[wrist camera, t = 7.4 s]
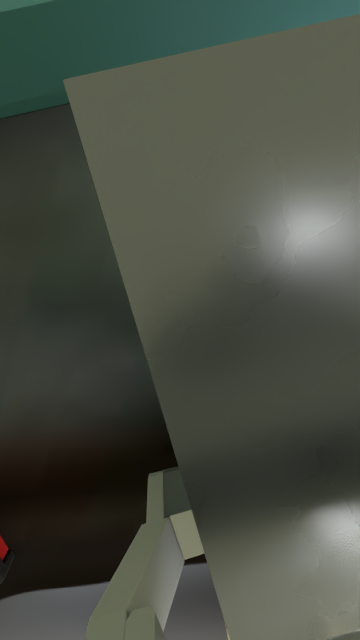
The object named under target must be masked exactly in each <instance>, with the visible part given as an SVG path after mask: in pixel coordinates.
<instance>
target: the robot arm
mask: <svg viewBox="0 0 360 640" xmlns="http://www.w3.org/2000/svg"><path fill="white" fill-rule="evenodd" d="M201 554H204V550H203V546H202V543H201V540H200V536H199V533H198V530H197V526H196V523H195V520H194V516H193V513H192V510H191V506H190V503H189V500H188V496H187V493H186V490H185V486H184V483H183V479H182V476H181V473H180V469H179V466H178V467H174V468H170V469H166V470H163V471H159V472H155V473H151V474H149V477H148V494H147V520H146V524H143V525H141V527H140V529H139V531H138V533H137V534H136V536H135V538H134V540H133V542H132V543H131V545H130V547H129V549H128V550H127V552H126V554H125V556H124V558H123V559H122V561H121V563H120V565H119V567H118V568H117V570H116V572H115V574H114V576H113V577H112V579H111V581H110V583H109V585H108V586H107V588H106V590H105V592H104V594H103V595H102V597H101V599H100V601H99V603H98V605H97V606H96V608H95V610H94V612H93V613H92V615H91V617H90V619H89V621H88V627H87V632H86V637H85V640H166V637H165V635H164V633H163V631H164V627H165V624H166V621H167V617H168V614H169V611H170V607H171V604H172V601H173V598H174V594H175V591H176V588H177V585H178V581H179V578H180V575H181V571H182V568H183V565H184V560H185V559H189V558H192V557H195V556H198V555H201ZM325 640H360V629H358V630H355V631H352V632H348V633H345V634H341V635H338V636H335V637H331V638H328V639H325Z"/></svg>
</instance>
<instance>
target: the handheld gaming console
mask: <svg viewBox="0 0 360 640" xmlns="http://www.w3.org/2000/svg"><path fill="white" fill-rule="evenodd" d="M13 559H14V553H13V552H12V551H11V550H8V547H7V546H6V544H5V542H4V541H3V539H2V538H1V536H0V584H1V583H2V582H3V581H4V578H5V576H6V574H7V572H8V570H9V568H10V566H11V563H12V561H13Z"/></svg>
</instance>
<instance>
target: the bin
mask: <svg viewBox="0 0 360 640" xmlns="http://www.w3.org/2000/svg"><path fill="white" fill-rule="evenodd" d="M356 14H360V0H0V119H1V118H5V117H9V116H14V115H18V114H23V113H27V112H32V111H36V110H40V109H45V108H49V107H54V106H58V105H63V104H67V103H70V102H69V99H68V96H67V92H66V89H65V86H64V82H63V79H68V78H72V77H77V76H81V75H86V74H90V73H95V72H99V71H104V70H108V69H113V68H117V67H122V66H126V65H131V64H135V63H140V62H144V61H149V60H153V59H158V58H162V57H167V56H171V55H176V54H180V53H185V52H189V51H194V50H198V49H203V48H207V47H212V46H216V45H221V44H226V43H230V42H235V41H239V40H244V39H248V38H253V37H257V36H262V35H266V34H271V33H275V32H280V31H284V30H289V29H293V28H298V27H302V26H307V25H311V24H316V23H320V22H325V21H329V20H334V19H338V18H343V17H347V16H352V15H356Z"/></svg>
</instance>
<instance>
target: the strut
mask: <svg viewBox="0 0 360 640" xmlns="http://www.w3.org/2000/svg"><path fill="white" fill-rule="evenodd" d="M63 82H64V86H65V89H66V92H67V96H68V99H69V102H70V106H71V109H72V112H73V116H74V119H75V122H76V126H77V129H78V132H79V136H80V139H81V142H82V146H83V149H84V152H85V156H86V159H87V162H88V166H89V169H90V172H91V176H92V179H93V182H94V186H95V189H96V192H97V196H98V199H99V202H100V206H101V209H102V212H103V216H104V219H105V222H106V226H107V229H108V232H109V236H110V239H111V242H112V246H113V249H114V252H115V256H116V259H117V262H118V266H119V269H120V273H121V276H122V279H123V283H124V286H125V289H126V293H127V296H128V299H129V303H130V306H131V309H132V313H133V316H134V319H135V323H136V326H137V329H138V333H139V336H140V339H141V343H142V346H143V349H144V353H145V356H146V359H147V363H148V366H149V369H150V373H151V376H152V379H153V383H154V386H155V389H156V393H157V396H158V399H159V403H160V406H161V409H162V413H163V416H164V419H165V423H166V426H167V429H168V433H169V436H170V439H171V443H172V446H173V449H174V453H175V456H176V459H177V463H178V466H179V469H180V473H181V476H182V479H183V483H184V486H185V490H186V493H187V496H188V500H189V503H190V506H191V510H192V513H193V516H194V520H195V523H196V526H197V530H198V533H199V536H200V540H201V543H202V546H203V550H204V553H205V556H206V560H207V563H208V566H209V569H210V573H211V576H212V580H213V583H214V586H215V590H216V593H217V596H218V599H219V603H220V606H221V610H222V613H223V616H224V620H225V625H226V630H227V636H228V640H325V639H328V638H331V637H335V636H338V635H341V634H345V633H348V632H352V631H355V630H358V629H360V14H356V15H352V16H347V17H343V18H338V19H334V20H329V21H325V22H320V23H316V24H311V25H307V26H302V27H298V28H293V29H289V30H284V31H280V32H275V33H271V34H266V35H262V36H257V37H253V38H248V39H244V40H239V41H235V42H230V43H226V44H221V45H216V46H212V47H207V48H203V49H198V50H194V51H189V52H185V53H180V54H176V55H171V56H167V57H162V58H158V59H153V60H149V61H144V62H140V63H135V64H131V65H126V66H122V67H117V68H113V69H108V70H104V71H99V72H95V73H90V74H86V75H81V76H77V77H72V78H68V79H63Z"/></svg>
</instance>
